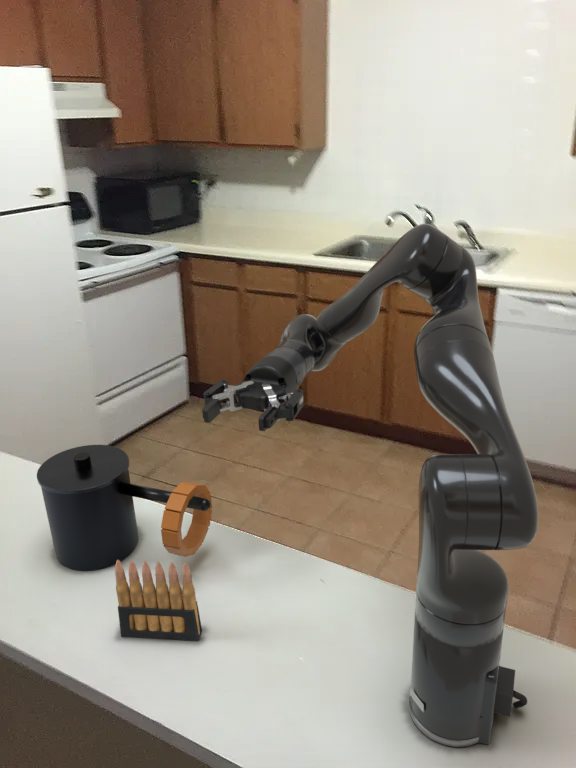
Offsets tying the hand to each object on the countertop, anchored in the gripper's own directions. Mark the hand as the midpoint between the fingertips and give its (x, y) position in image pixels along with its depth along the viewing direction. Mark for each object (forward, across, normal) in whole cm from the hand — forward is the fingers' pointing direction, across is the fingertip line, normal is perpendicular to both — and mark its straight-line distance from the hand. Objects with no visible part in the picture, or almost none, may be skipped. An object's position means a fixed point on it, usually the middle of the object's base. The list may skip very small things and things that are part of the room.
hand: (233, 420), depth 93 cm
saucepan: (+4, -17, +24) cm, 30 cm away
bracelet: (+4, -7, +20) cm, 22 cm away
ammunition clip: (+18, -4, +24) cm, 30 cm away
